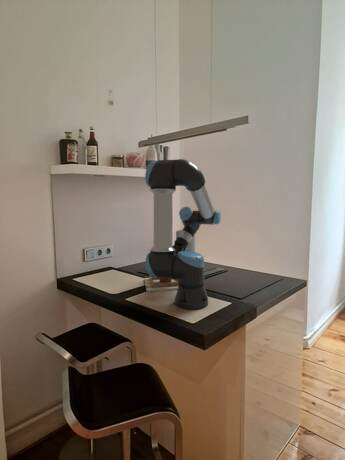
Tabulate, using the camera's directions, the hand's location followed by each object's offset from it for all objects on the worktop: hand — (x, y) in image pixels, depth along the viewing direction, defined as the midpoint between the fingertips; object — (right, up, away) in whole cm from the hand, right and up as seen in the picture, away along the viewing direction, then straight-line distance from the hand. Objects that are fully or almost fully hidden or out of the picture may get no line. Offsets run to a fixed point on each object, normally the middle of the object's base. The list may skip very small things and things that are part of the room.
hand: (163, 270), depth 169 cm
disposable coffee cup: (+1, -7, +2) cm, 7 cm away
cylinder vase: (+14, -3, +38) cm, 40 cm away
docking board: (+1, -8, +2) cm, 8 cm away
